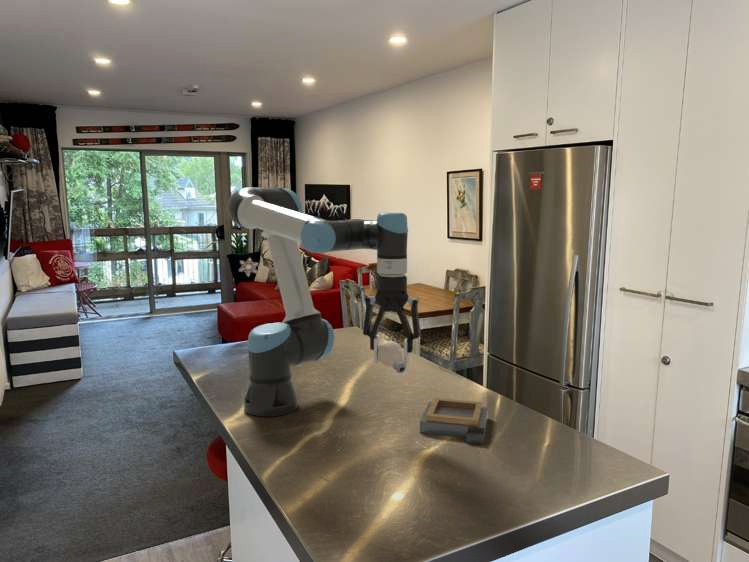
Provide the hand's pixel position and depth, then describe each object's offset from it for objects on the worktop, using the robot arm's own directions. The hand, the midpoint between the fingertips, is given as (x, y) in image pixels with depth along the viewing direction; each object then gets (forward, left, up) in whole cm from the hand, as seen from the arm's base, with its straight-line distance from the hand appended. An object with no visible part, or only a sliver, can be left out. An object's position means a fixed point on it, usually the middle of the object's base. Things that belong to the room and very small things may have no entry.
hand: (391, 363), depth 142 cm
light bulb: (+1, -2, -1) cm, 2 cm away
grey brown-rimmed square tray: (+16, +5, -17) cm, 24 cm away
